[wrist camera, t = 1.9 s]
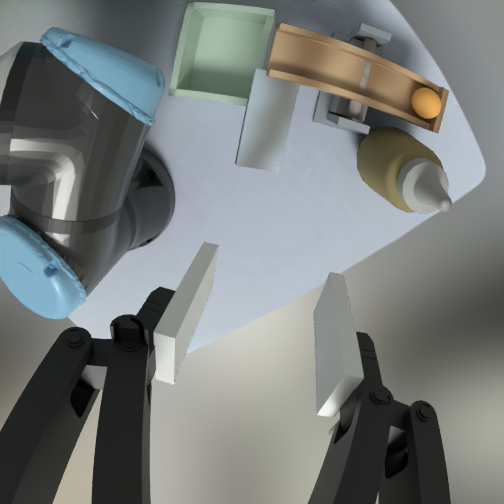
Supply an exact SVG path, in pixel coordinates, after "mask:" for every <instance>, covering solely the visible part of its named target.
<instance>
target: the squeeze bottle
mask: <svg viewBox="0 0 504 504" xmlns="http://www.w3.org/2000/svg"><path fill="white" fill-rule="evenodd" d="M357 169H358V171H359V173H360V175H361V178H362V180H363V181H364V182H365V183H366V184H367V185H368V186H369V187H370V188H371V189H373V190H374V191H375V192H377V193H378V194H379V195H381V196H382V197H383V198H385V199H386V200H387V201H388V202H390V203H391V204H392V205H394V206H395V207H396V208H398V209H401V210H403V211H405V212H417V213H419V214H425V213H431V212H433V211H435V210H437V209H438V210H441V211H447V210H449V209H450V207H451V205H452V202H451V199H450V197H449V196H448V185H449V183H448V179H447V176H446V173H445V172H444V170H443V167H442V164H441V161H440V160H439V158H438V157H437V156H436V155H435V153H434V152H433V151H432V150H430V149H429V148H428V147H426V146H425V145H423V144H422V143H421V142H419V141H418V140H416V139H415V138H414V137H412V136H411V135H409V134H408V133H406V132H404V131H402V130H400V129H398V128H396V127H381V128H378V129H376V130H374V131H371V132H370V133H369V134H368V135H367V136H366V137H365V138H364V139H363V140H362V142H361V144H360V147H359V150H358V152H357Z"/></svg>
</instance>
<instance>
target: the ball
mask: <svg viewBox="0 0 504 504" xmlns="http://www.w3.org/2000/svg"><path fill="white" fill-rule="evenodd" d="M411 104H412V107H413V109H414V111H415V112H416V113H417V114H418V115H419V116H421V117H423V118H428V119H429V118H434V117H436V116H437V115H438V114H439V112H440V110H441V100H440V98H439V96H438V95H437V93H436V92H434V91H433V90H431V89H429V88H420V89H417V90H416V91H415V92H414V93H413V95H412V98H411Z"/></svg>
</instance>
